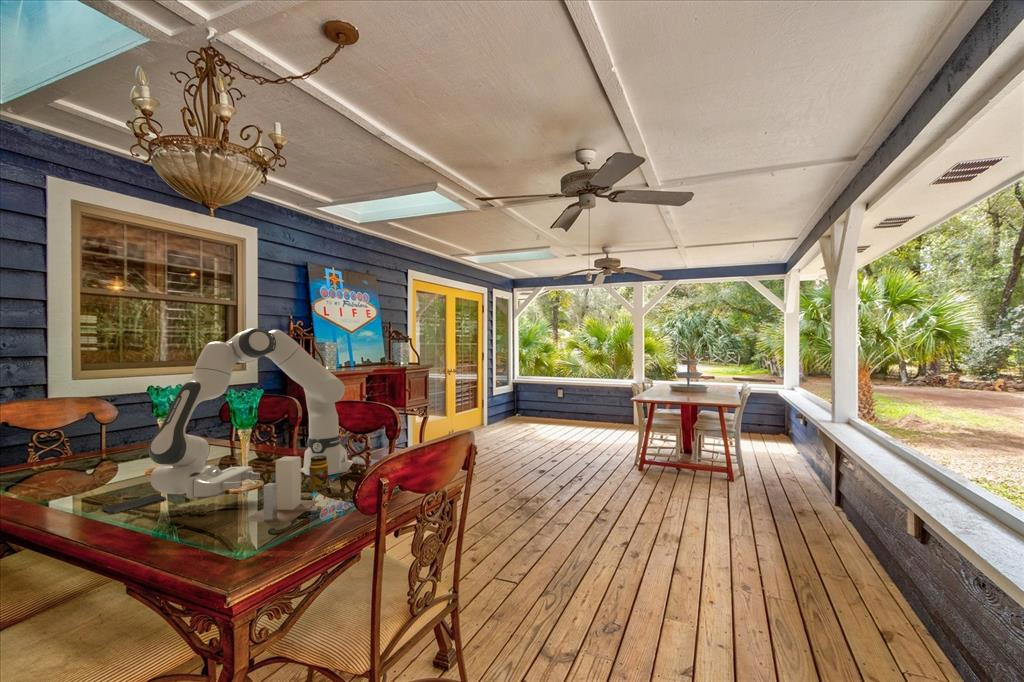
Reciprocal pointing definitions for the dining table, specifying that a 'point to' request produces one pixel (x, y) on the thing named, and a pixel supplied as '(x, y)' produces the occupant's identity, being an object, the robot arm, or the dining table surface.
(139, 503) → the phone
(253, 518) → the board
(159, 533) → the dining table surface
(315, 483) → the condiment
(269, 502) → the post
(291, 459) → the tall gray pillar
